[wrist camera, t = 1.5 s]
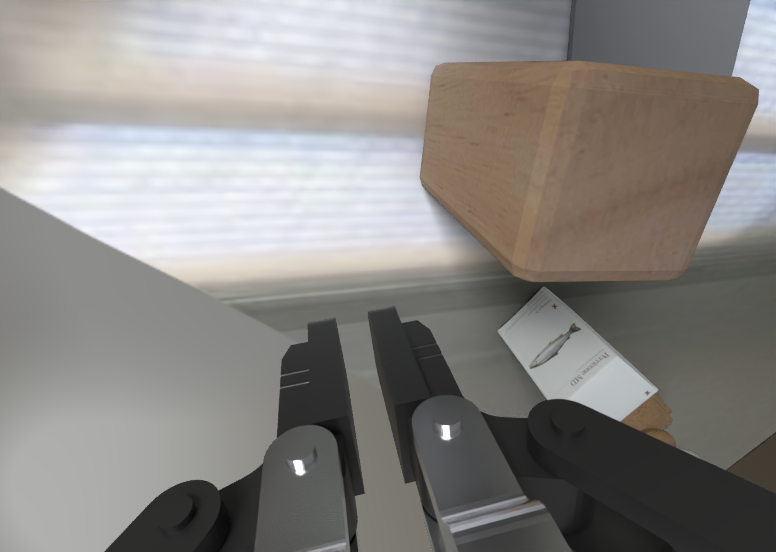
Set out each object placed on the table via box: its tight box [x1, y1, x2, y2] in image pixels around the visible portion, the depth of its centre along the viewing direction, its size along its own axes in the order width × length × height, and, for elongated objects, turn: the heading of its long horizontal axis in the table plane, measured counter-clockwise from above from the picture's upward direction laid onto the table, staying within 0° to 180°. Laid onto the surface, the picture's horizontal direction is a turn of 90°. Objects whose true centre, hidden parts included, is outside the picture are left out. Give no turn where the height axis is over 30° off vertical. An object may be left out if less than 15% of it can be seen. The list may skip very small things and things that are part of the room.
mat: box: [567, 0, 750, 76], centre depth 38 cm, size 24×16×1 cm, turn 6°
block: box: [420, 61, 759, 282], centre depth 28 cm, size 10×10×20 cm
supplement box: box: [498, 286, 658, 422], centre depth 42 cm, size 7×7×13 cm
